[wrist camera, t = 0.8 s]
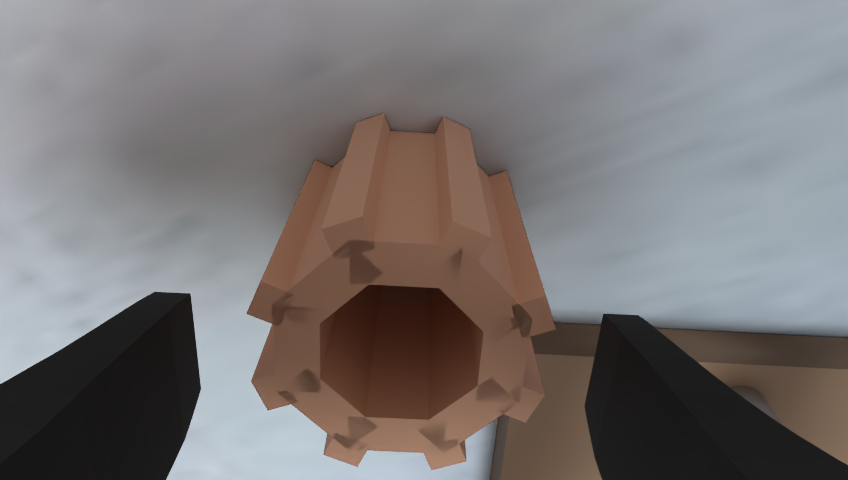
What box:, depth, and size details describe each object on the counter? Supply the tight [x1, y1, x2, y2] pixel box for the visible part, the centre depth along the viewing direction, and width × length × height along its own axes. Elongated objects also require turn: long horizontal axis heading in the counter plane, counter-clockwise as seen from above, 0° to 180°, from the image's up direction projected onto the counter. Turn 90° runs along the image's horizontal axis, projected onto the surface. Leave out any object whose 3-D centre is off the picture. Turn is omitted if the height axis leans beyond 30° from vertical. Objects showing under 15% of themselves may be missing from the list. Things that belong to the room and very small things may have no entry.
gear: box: [247, 113, 556, 470], centre depth 14 cm, size 5×5×6 cm
